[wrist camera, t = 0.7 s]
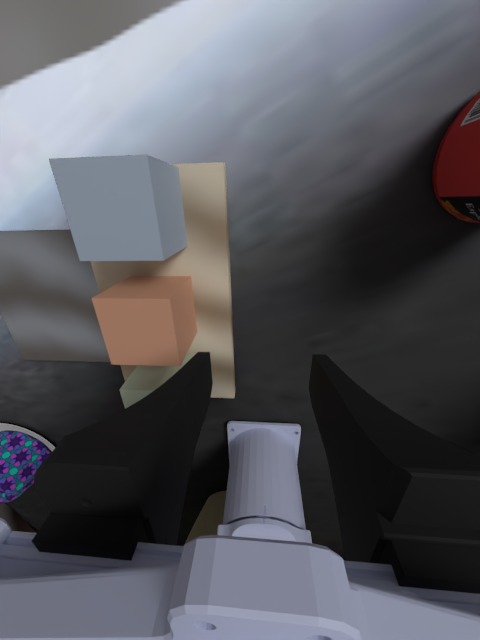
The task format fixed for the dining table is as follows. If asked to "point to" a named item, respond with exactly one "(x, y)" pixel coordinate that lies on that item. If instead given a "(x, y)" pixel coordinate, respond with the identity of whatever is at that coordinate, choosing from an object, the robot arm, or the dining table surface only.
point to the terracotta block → (147, 320)
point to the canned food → (460, 165)
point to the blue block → (122, 207)
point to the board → (97, 276)
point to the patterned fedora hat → (19, 460)
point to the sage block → (147, 381)
